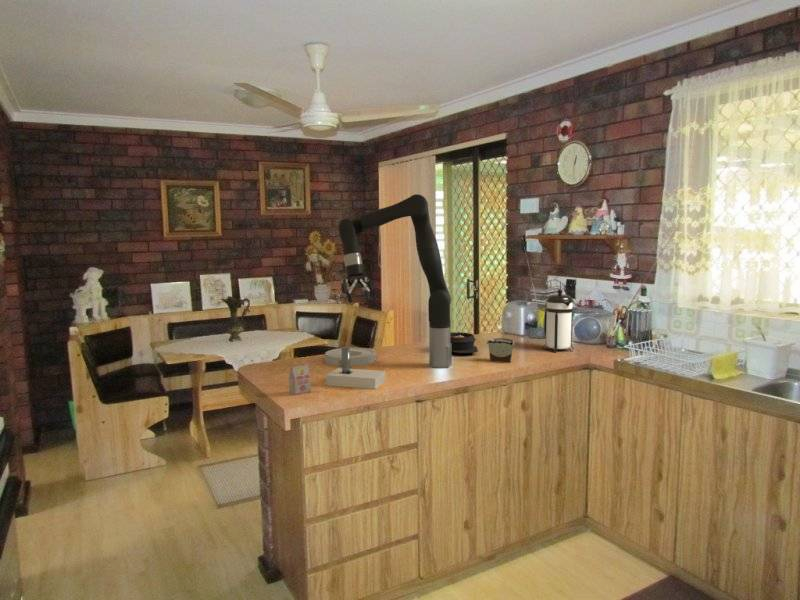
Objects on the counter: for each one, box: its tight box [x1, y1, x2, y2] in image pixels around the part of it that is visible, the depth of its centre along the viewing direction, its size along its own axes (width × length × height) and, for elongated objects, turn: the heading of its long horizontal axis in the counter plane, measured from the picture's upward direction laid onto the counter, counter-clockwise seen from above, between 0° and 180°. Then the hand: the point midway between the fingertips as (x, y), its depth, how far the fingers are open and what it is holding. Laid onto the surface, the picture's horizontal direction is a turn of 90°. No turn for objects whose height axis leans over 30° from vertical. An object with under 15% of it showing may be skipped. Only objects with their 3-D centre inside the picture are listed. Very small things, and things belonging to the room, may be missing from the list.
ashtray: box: [324, 347, 377, 367], centre depth 262 cm, size 23×23×4 cm
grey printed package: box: [288, 364, 312, 396], centre depth 209 cm, size 4×7×10 cm, turn 128°
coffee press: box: [542, 289, 575, 353], centre depth 281 cm, size 17×16×30 cm
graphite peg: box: [340, 345, 351, 374], centre depth 222 cm, size 3×3×14 cm
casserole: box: [450, 331, 479, 355], centre depth 279 cm, size 25×19×8 cm
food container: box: [486, 337, 515, 364], centre depth 258 cm, size 12×6×10 cm, turn 65°
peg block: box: [325, 367, 386, 390], centre depth 222 cm, size 20×12×4 cm, turn 73°
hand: (359, 301), depth 245 cm, fingers open, 8 cm apart
